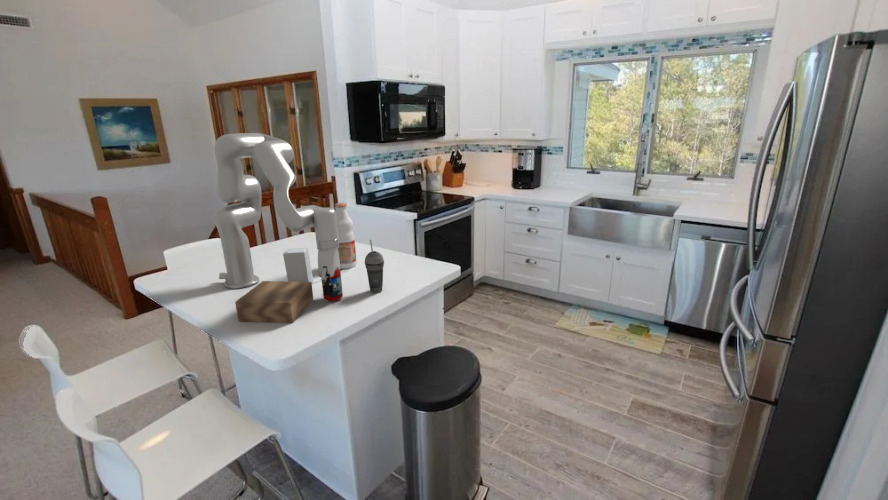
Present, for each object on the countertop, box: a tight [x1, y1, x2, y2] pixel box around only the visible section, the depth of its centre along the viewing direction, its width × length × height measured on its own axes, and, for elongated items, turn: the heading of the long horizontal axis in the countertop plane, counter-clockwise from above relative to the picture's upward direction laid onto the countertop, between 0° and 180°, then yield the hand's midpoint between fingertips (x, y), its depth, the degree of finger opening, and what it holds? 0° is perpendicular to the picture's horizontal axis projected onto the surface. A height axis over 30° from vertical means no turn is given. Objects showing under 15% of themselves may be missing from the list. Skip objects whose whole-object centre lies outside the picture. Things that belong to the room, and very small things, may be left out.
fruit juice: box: [334, 202, 357, 270], centre depth 180 cm, size 9×9×28 cm
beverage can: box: [321, 267, 344, 303], centre depth 147 cm, size 7×7×12 cm
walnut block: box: [235, 280, 315, 324], centre depth 140 cm, size 18×18×7 cm
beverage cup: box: [364, 239, 385, 294], centre depth 153 cm, size 7×7×20 cm
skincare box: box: [282, 247, 314, 285], centre depth 159 cm, size 8×6×15 cm
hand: (332, 290), depth 148 cm, fingers closed on beverage can, 6 cm apart
